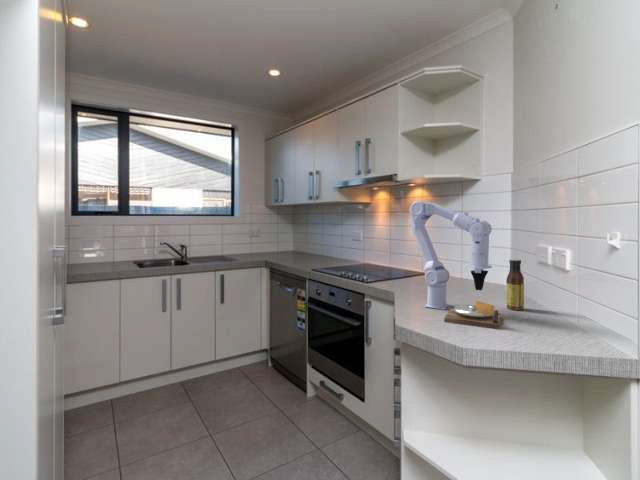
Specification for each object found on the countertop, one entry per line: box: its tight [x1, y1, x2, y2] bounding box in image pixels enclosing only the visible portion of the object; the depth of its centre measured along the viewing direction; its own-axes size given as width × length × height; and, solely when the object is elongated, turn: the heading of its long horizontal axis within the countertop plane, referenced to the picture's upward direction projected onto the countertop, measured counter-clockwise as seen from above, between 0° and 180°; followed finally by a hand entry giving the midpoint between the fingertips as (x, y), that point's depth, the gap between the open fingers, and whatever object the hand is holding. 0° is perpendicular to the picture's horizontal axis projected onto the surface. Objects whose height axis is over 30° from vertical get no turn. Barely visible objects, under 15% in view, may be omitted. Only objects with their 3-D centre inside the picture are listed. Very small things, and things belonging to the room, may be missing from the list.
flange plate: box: [453, 301, 495, 317], centre depth 125 cm, size 13×13×4 cm
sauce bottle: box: [505, 258, 525, 311], centre depth 140 cm, size 7×6×20 cm
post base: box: [443, 307, 502, 330], centre depth 125 cm, size 16×17×6 cm
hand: (478, 289), depth 131 cm, fingers closed
